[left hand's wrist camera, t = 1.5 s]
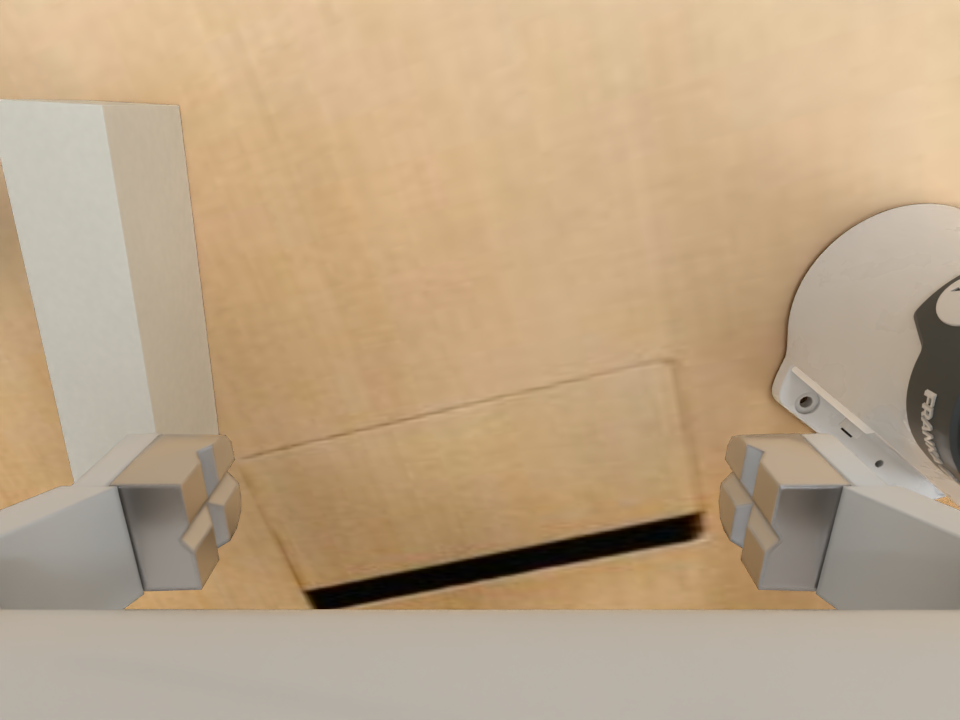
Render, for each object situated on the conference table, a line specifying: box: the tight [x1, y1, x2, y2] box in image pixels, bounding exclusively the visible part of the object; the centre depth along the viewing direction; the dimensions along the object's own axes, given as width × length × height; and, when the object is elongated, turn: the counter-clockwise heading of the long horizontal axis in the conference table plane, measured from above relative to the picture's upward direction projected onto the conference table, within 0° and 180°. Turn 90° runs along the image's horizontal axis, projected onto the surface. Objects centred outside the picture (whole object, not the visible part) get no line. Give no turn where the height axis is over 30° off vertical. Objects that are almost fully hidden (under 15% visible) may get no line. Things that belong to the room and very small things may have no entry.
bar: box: [0, 99, 219, 483], centre depth 38 cm, size 28×5×8 cm, turn 177°
